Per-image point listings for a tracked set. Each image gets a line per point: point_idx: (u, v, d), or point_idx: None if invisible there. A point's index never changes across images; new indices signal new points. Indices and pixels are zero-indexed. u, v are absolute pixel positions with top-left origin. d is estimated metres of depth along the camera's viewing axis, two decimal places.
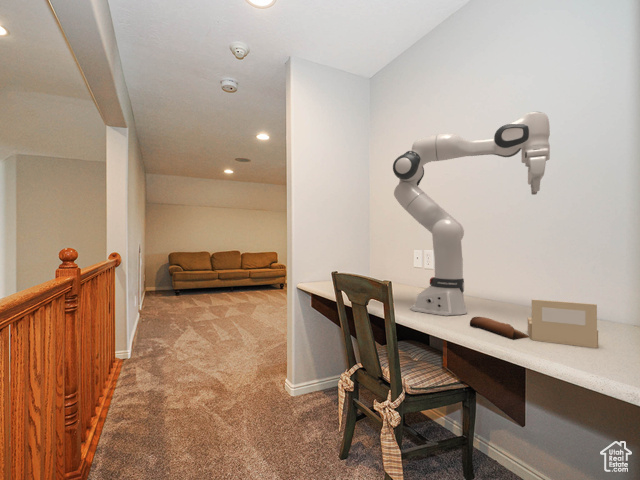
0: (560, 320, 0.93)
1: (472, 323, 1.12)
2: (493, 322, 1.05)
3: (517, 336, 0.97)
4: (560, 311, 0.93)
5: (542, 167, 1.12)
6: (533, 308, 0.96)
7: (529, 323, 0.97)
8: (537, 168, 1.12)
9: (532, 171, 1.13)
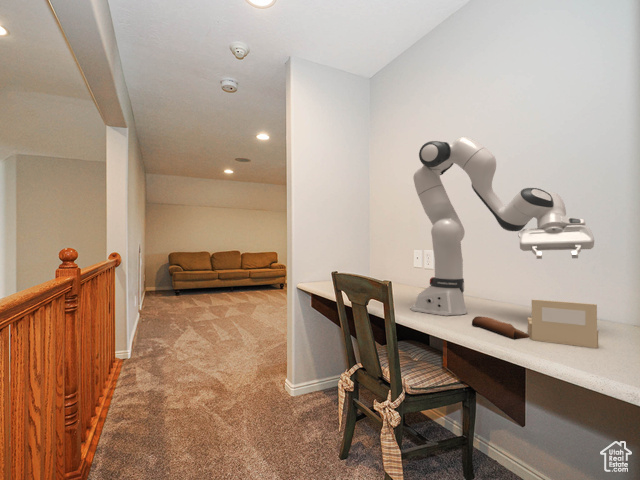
0: (560, 320, 0.93)
1: (474, 323, 1.12)
2: (495, 322, 1.05)
3: (518, 336, 0.97)
4: (560, 311, 0.93)
5: None
6: (533, 308, 0.96)
7: (529, 323, 0.97)
8: None
9: (593, 238, 1.02)
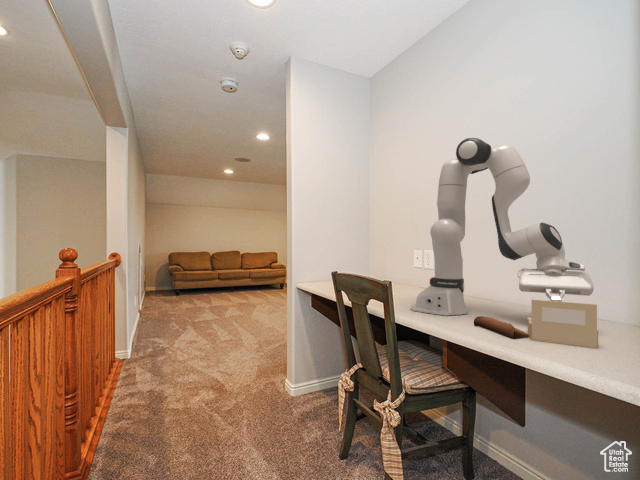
0: (560, 320, 0.93)
1: (476, 322, 1.13)
2: (495, 321, 1.05)
3: (517, 335, 0.97)
4: (560, 311, 0.93)
5: None
6: (533, 308, 0.96)
7: (529, 323, 0.97)
8: None
9: None
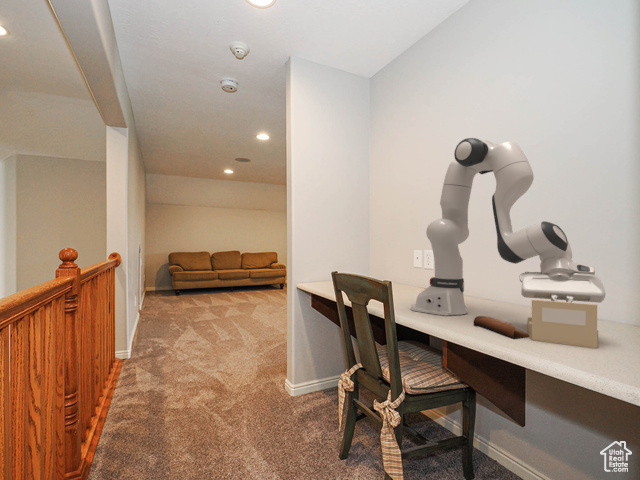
0: (560, 320, 0.92)
1: (475, 322, 1.13)
2: (495, 321, 1.06)
3: (517, 335, 0.97)
4: (560, 312, 0.92)
5: None
6: (533, 308, 0.95)
7: (529, 323, 0.97)
8: None
9: (604, 291, 0.91)
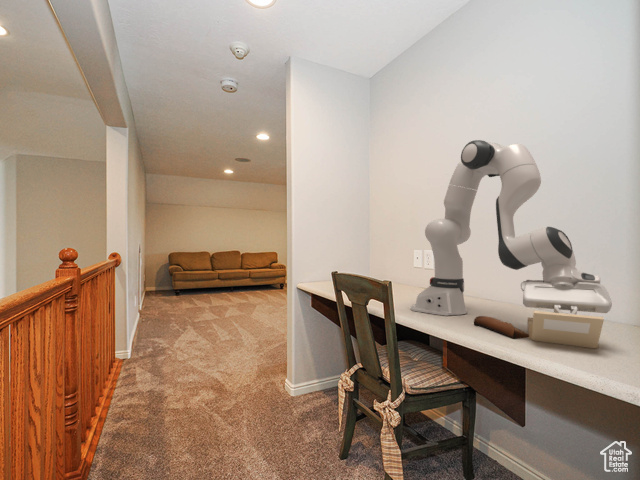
0: (562, 328, 0.89)
1: (476, 322, 1.13)
2: (495, 321, 1.06)
3: (517, 335, 0.97)
4: (563, 322, 0.88)
5: None
6: (535, 319, 0.91)
7: (529, 323, 0.97)
8: None
9: None
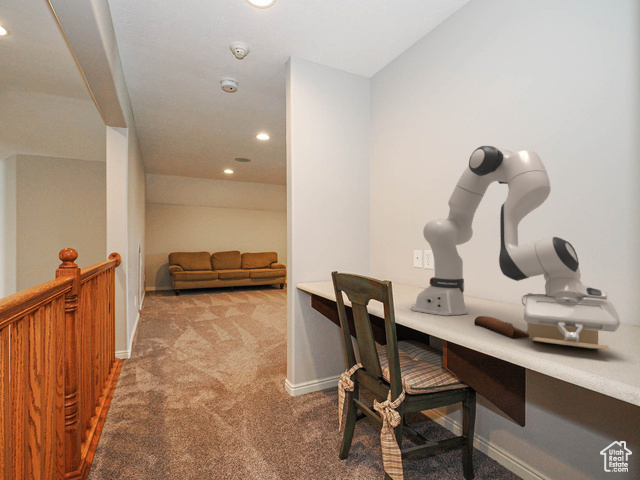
0: None
1: (476, 322, 1.13)
2: (496, 321, 1.06)
3: (517, 335, 0.97)
4: (565, 344, 0.85)
5: None
6: (536, 340, 0.88)
7: (529, 323, 0.97)
8: None
9: (618, 319, 0.80)
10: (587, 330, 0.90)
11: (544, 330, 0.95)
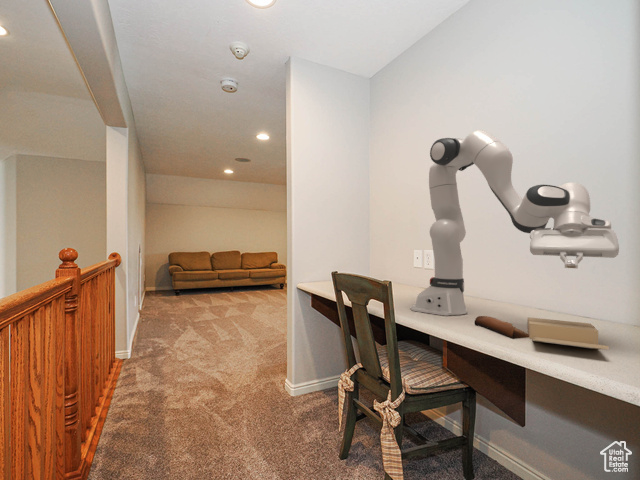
0: None
1: (476, 322, 1.13)
2: (496, 321, 1.06)
3: (517, 335, 0.98)
4: (565, 344, 0.85)
5: None
6: (536, 340, 0.88)
7: (529, 323, 0.97)
8: None
9: (618, 246, 0.86)
10: (587, 330, 0.90)
11: (544, 330, 0.95)
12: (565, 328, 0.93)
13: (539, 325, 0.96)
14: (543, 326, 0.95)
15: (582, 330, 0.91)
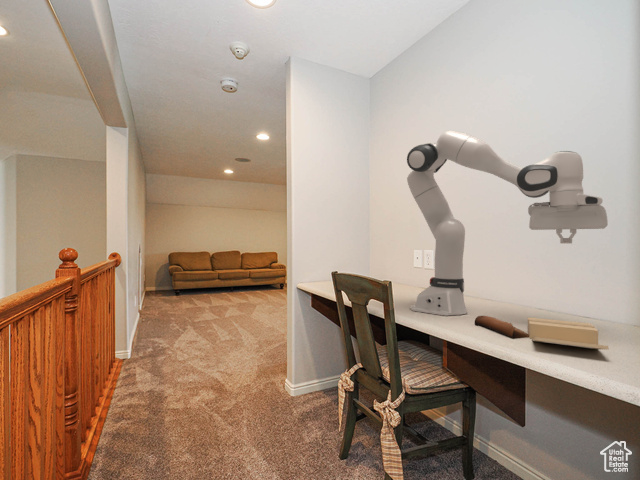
0: None
1: (476, 322, 1.13)
2: (496, 321, 1.06)
3: (517, 335, 0.98)
4: (565, 344, 0.85)
5: None
6: (536, 340, 0.88)
7: (529, 323, 0.97)
8: None
9: (607, 222, 0.99)
10: (587, 330, 0.90)
11: (544, 330, 0.95)
12: (565, 328, 0.93)
13: (539, 325, 0.96)
14: (543, 326, 0.95)
15: (582, 330, 0.91)
